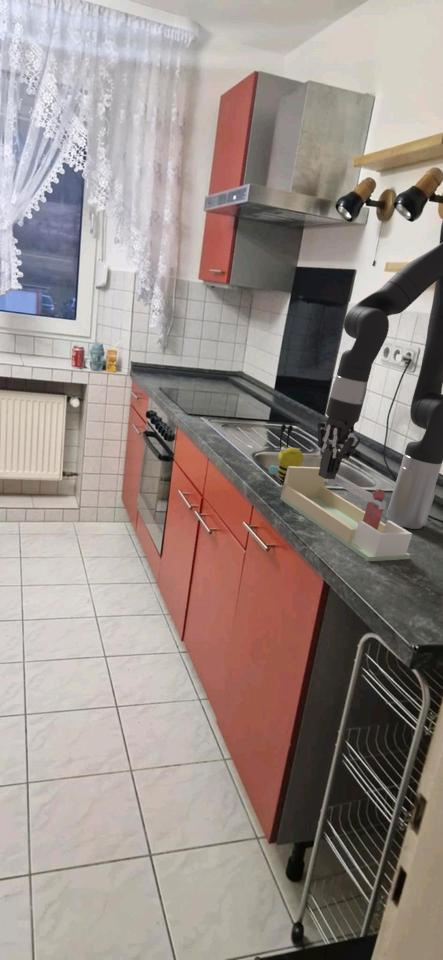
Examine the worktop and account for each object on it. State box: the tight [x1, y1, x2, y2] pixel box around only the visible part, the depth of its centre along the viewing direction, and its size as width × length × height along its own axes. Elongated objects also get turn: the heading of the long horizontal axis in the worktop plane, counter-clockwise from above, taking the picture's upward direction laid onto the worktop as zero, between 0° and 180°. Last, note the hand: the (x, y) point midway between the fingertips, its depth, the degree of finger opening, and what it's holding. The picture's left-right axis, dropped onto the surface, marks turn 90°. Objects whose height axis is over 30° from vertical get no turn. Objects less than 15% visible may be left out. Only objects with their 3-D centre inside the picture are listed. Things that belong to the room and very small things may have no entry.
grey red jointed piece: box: [318, 448, 388, 530], centre depth 139 cm, size 6×18×15 cm, turn 27°
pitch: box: [279, 466, 413, 562], centre depth 143 cm, size 12×34×9 cm, turn 28°
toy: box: [268, 423, 304, 483], centre depth 171 cm, size 6×14×15 cm
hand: (328, 470), depth 143 cm, fingers closed on grey red jointed piece, 2 cm apart
